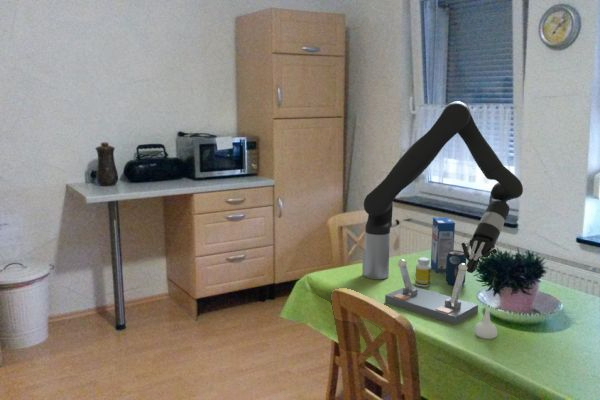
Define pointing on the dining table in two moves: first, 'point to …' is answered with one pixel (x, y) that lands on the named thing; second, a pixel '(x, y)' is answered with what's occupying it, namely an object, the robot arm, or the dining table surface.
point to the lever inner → (405, 275)
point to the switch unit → (432, 304)
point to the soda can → (454, 266)
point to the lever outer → (458, 283)
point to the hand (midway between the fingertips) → (469, 271)
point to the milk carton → (441, 242)
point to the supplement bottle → (423, 272)
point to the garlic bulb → (486, 327)
